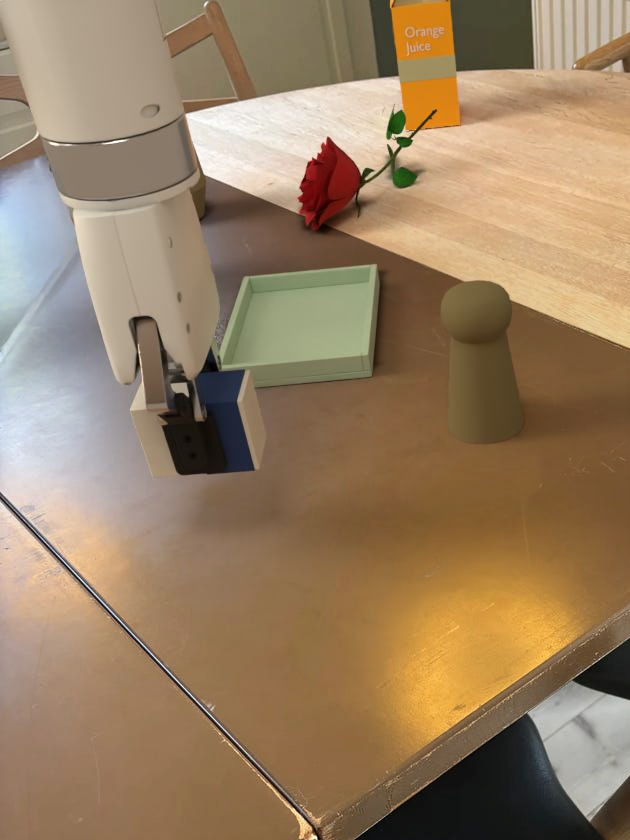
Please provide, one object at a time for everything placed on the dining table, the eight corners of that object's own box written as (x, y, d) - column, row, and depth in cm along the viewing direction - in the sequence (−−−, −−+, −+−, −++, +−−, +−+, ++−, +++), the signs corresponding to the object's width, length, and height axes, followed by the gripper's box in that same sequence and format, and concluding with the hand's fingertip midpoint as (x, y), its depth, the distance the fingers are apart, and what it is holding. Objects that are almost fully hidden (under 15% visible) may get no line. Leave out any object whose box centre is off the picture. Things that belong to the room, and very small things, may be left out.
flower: (407, 51, 123) (276, 153, 106) (473, 92, 124) (354, 201, 106) (388, 119, 131) (263, 225, 113) (451, 158, 131) (336, 270, 113)
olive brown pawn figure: (459, 451, 77) (444, 313, 69) (439, 413, 81) (423, 279, 74) (534, 433, 78) (527, 295, 70) (511, 397, 82) (502, 264, 75)
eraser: (152, 479, 66) (128, 410, 62) (164, 445, 69) (142, 377, 65) (259, 470, 66) (241, 400, 62) (267, 437, 69) (250, 368, 65)
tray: (219, 391, 87) (213, 369, 86) (248, 297, 101) (243, 276, 100) (372, 377, 87) (368, 354, 85) (379, 284, 101) (376, 263, 99)
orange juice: (458, 107, 144) (443, -62, 131) (461, 125, 138) (446, -51, 124) (404, 113, 144) (383, -55, 131) (404, 131, 138) (383, -44, 124)
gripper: (91, 117, 61) (175, 392, 73) (6, 223, 48) (124, 531, 61) (216, 106, 60) (279, 383, 73) (162, 209, 48) (249, 521, 61)
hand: (208, 448), depth 67 cm, fingers closed on eraser, 4 cm apart
